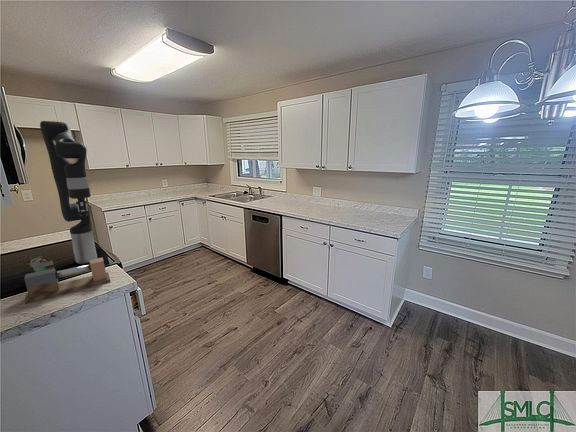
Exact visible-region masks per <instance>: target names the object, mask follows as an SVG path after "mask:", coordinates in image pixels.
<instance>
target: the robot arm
mask: <svg viewBox="0 0 576 432" xmlns="http://www.w3.org/2000/svg"><path fill="white" fill-rule="evenodd" d="M39 127H40V131H41V136H42V138H43V141H44V144H45V147H46V150H47V154H48V156H49V162H50V163H49V164H50V167H51V170H52V175H53V179H54V183H55V185H56V189H57V193H58V197H59V198H58V199H59V203H60V204H59V205H60V209H61V215H62V217H63V219H64V221H66V222H69V223H70V222H76V221H79V222H78V223H77V224H75V225H73V226H71V227H70V228H69V233H70V238H71V243H72V251H73V255H74V261H75V262H76V264H81V265H83V264H84V265H85V264H90V260H93V259H97V258H98V254H97V250H96V249H97V248H96V245H95V238H94V234H93V233H94V232H93V229H92V221H91V215H90V214H91V213H90V207H89V206H88V201H87V200H85V199H86V198H87V199H88V198H90V197H91V196H92V194H91V191H90V190H91V189H90V185H89V181H88V178H87V172H86V158H87V154H88V153H87V151H88V150H87V147H86V145H84V143H82V142H76V140H75V139H74V135H73V133H72V130H71V127H70V126H69V125H68V123H66V122H64V121H63V122H62V121H53V120H52V121H51V120H42V121H40V123H39ZM54 142H55V143H54ZM71 159H76V160H77V161H75V162H74V163H73V162H72V161H71ZM70 199H74V200H75V199H76V200H77V201H76V202H73V203H70Z"/></svg>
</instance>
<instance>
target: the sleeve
mask: <svg viewBox="0 0 576 432" xmlns="http://www.w3.org/2000/svg"><path fill="white" fill-rule="evenodd" d="M56 271H57V270H56V267H54V268H53V269H48V270H44V271H39V272H35V271H34V272H30V273H26V274H25V275H24V279H23V280H24V282H25V287H26V289H27V288H28V287H32V286H37V285H41V284H45V283H50V282H54V281H57V279H56V275H55V272H56Z"/></svg>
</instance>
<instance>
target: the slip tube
mask: <svg viewBox="0 0 576 432" xmlns="http://www.w3.org/2000/svg"><path fill="white" fill-rule="evenodd" d="M85 272H92V271H91V266H90V263H88V264H86V265H85V264H84V265H80V266H76V267H75V266H74V267H70V268H67V269H62V270H61V269H60V270H56V272H55V275H56V278H58V279H60V278H65V277H68V276H69V277H70V276H73V275H78V274H81V273H82V274H83V273H85Z"/></svg>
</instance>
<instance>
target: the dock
mask: <svg viewBox="0 0 576 432" xmlns="http://www.w3.org/2000/svg"><path fill="white" fill-rule="evenodd" d="M106 276H107V278H106V279H102V280H98V281H93V276H92V275H90V276H86V277H81V278H77V279H73V280H69V281H64V282H61V283H60V282H59V278H56V279H57V281H54V282H50V283H45V284H41V285H37V286H32V287H28V288H27V287H26V290H27V294H26V297H25V300H24V302H25V304H26V305H27V304H30V303H31V304H32V303H34V302H38V301H42V300H46V299H49V298H53V297H57V296H61V295H65V294H69V293H73V292H76V291H80V290H85V289H88V288H91V287H95V286H99V285H103V284H104V285H105V284H107V282H108V283H110V282H111V279H110V275H109V272H108V271H106Z"/></svg>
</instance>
